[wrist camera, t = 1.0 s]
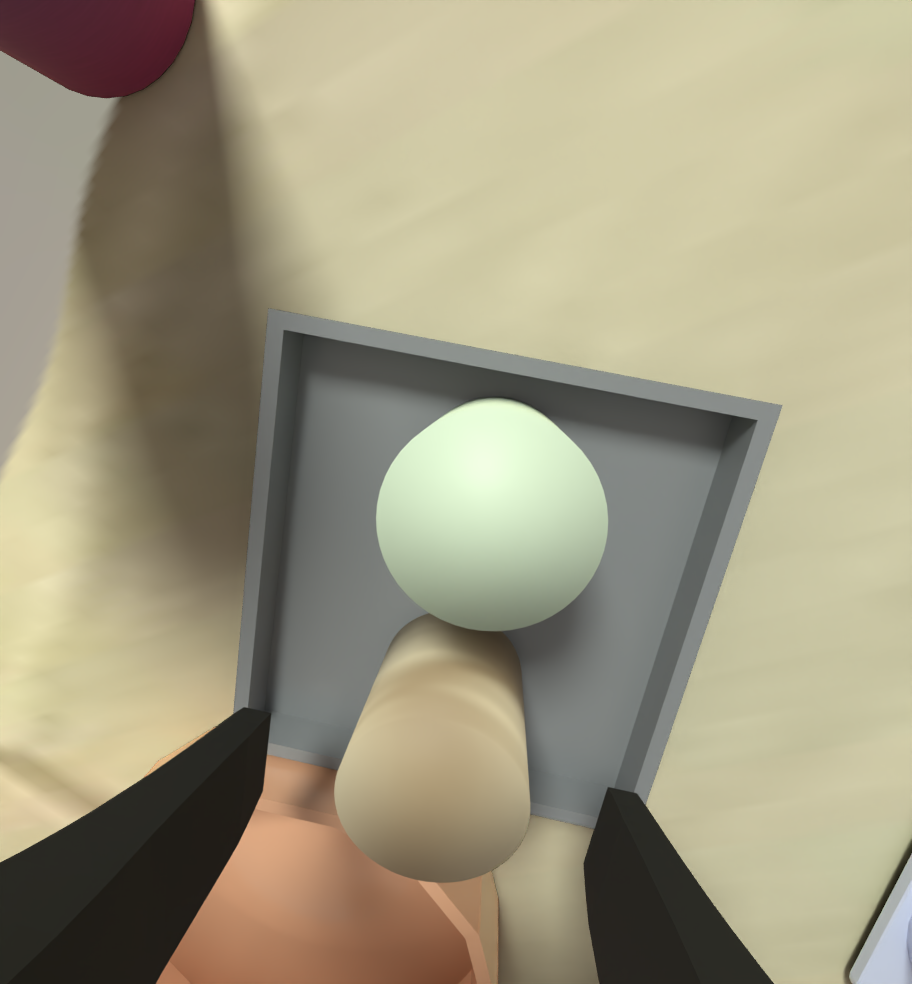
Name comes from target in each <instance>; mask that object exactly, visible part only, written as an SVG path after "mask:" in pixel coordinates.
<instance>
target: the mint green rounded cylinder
mask: <svg viewBox="0 0 912 984" xmlns="http://www.w3.org/2000/svg"><path fill="white" fill-rule="evenodd" d="M376 527H377V536H378V541H379V546H380V549H381V552H382V555H383V558H384V561H385V563H386V565H387V567H388V569H389V571H390V573H391V574H392V576H393V578H394V579H395V581H396V582H397V584H398V585H399V586H400V587H401V589H402V590H403V591H404V592H405V593H406V594H407V595H408V596H409V597H410V598H411V599H412V600H413V601H414V602H415V603H416V604H417V605H419V606H420V607H421V608H423V609H424V610H426V611H427V612H428V613H430V614H432V615H434V616H436V617H437V618H439V619H441V620H443V621H446V622H448V623H451V624H453V625H456V626H460V627H464V628H467V629H473V630H480V631H506V630H514V629H519V628H523V627H527V626H530V625H533V624H536V623H539V622H541V621H543V620H545V619H547V618H549V617H551V616H553V615H554V614H556V613H558V612H559V611H561V610H562V609H564V608H565V607H566V606H567V605H568V604H570V603H571V602H572V601H573V600H574V599H575V598H576V597H577V596H578V595H579V594H580V593H581V592H582V591H583V590H584V589H585V587H586V586H587V584H588V583H589V581H590V580H591V579H592V577H593V575H594V573H595V572H596V570H597V568H598V566H599V564H600V561H601V558H602V555H603V552H604V550H605V545H606V540H607V533H608V511H607V503H606V499H605V494H604V490H603V487H602V485H601V482H600V480H599V477H598V475H597V473H596V471H595V469H594V468H593V466H592V464H591V462H590V461H589V460H588V458H587V457H586V456H585V454H584V453H583V452H582V450H581V449H580V448H579V447H578V446H577V445H576V444H575V443H574V442H573V441H572V440H571V439H570V438H569V437H568V436H567V435H566V434H565V433H564V432H562V431H561V430H560V429H559V428H558V427H557V426H556V425H555V424H554V423H553V422H552V421H551V420H550V419H549V418H548V417H547V416H545V415H544V414H543V413H542V412H540V411H539V410H538V409H536V408H534V407H532V406H531V405H529V404H526V403H524V402H521V401H519V400H515V399H511V398H505V397H484V398H478V399H474V400H471V401H468V402H465V403H463V404H461V405H459V406H457V407H455V408H453V409H452V410H450V411H449V412H447V413H446V414H445V415H443V416H442V417H441V418H439V419H438V420H437V421H435V422H434V423H432V424H431V425H430V426H428V427H427V428H426V429H424V430H423V431H422V432H420V433H419V434H418V435H417V436H415V437H414V438H413V439H412V440H411V441H410V442H409V443H408V444H407V445H406V446H405V447H404V448H403V449H402V450H401V451H400V453H399V454H398V455H397V457H396V458H395V460H394V461H393V462H392V464H391V466H390V468H389V470H388V472H387V473H386V475H385V478H384V481H383V483H382V486H381V489H380V493H379V497H378V502H377V512H376Z"/></svg>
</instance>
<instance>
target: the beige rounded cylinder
mask: <svg viewBox="0 0 912 984" xmlns="http://www.w3.org/2000/svg"><path fill="white" fill-rule="evenodd" d="M334 797H335V805H336V810H337V814H338V816H339V819H340V822H341V824H342V826H343V828H344V829H345V831H346V833H347V835H348V836H349V837H350V839H351V840H352V841H353V843H354V844H355V845H356V846H357V847H358V848H359V849H360V850H361V851H362V852H363V853H364V854H365V855H366V856H368V857H369V858H370V859H371V860H373V861H374V862H376V863H377V864H379V865H380V866H382V867H384V868H386V869H388V870H389V871H391V872H394V873H396V874H399V875H401V876H404V877H407V878H411V879H414V880H420V881H425V882H435V883H451V882H459V881H465V880H469V879H473V878H476V877H479V876H481V875H484V874H486V873H488V872H490V871H492V870H494V869H496V868H497V867H499V866H500V865H501V864H503V863H504V862H505V861H506V860H507V859H508V858H510V857H511V856H512V855H513V853H514V852H515V851H516V850H517V848H518V847H519V846H520V844H521V842H522V840H523V839H524V837H525V834H526V831H527V829H528V825H529V820H530V791H529V776H528V761H527V746H526V731H525V715H524V700H523V685H522V671H521V664H520V661H519V657H518V655H517V652H516V650H515V648H514V646H513V645H512V643H511V641H510V640H509V639H508V638H507V637H506V635H505V634H504V633H503V632H502V631H480V630H473V629H467V628H464V627H460V626H456V625H453V624H451V623H448V622H446V621H443V620H441V619H439V618H437V617H436V616H434V615H432V614H430V613H428V614H425V615H422V616H420V617H418V618H416V619H414V620H412V621H411V622H409V623H408V624H406V625H405V626H404V627H403V628H402V629H401V630H400V631H399V632H398V633H397V634H396V635H395V637H394V638H393V640H392V641H391V643H390V645H389V647H388V650H387V652H386V655H385V657H384V660H383V662H382V664H381V667H380V669H379V672H378V674H377V677H376V679H375V682H374V684H373V686H372V689H371V691H370V694H369V696H368V699H367V701H366V703H365V706H364V708H363V711H362V713H361V716H360V718H359V720H358V723H357V725H356V728H355V730H354V733H353V735H352V737H351V740H350V742H349V745H348V747H347V750H346V752H345V754H344V757H343V759H342V762H341V764H340V767H339V769H338V771H337V775H336V780H335V787H334Z"/></svg>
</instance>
